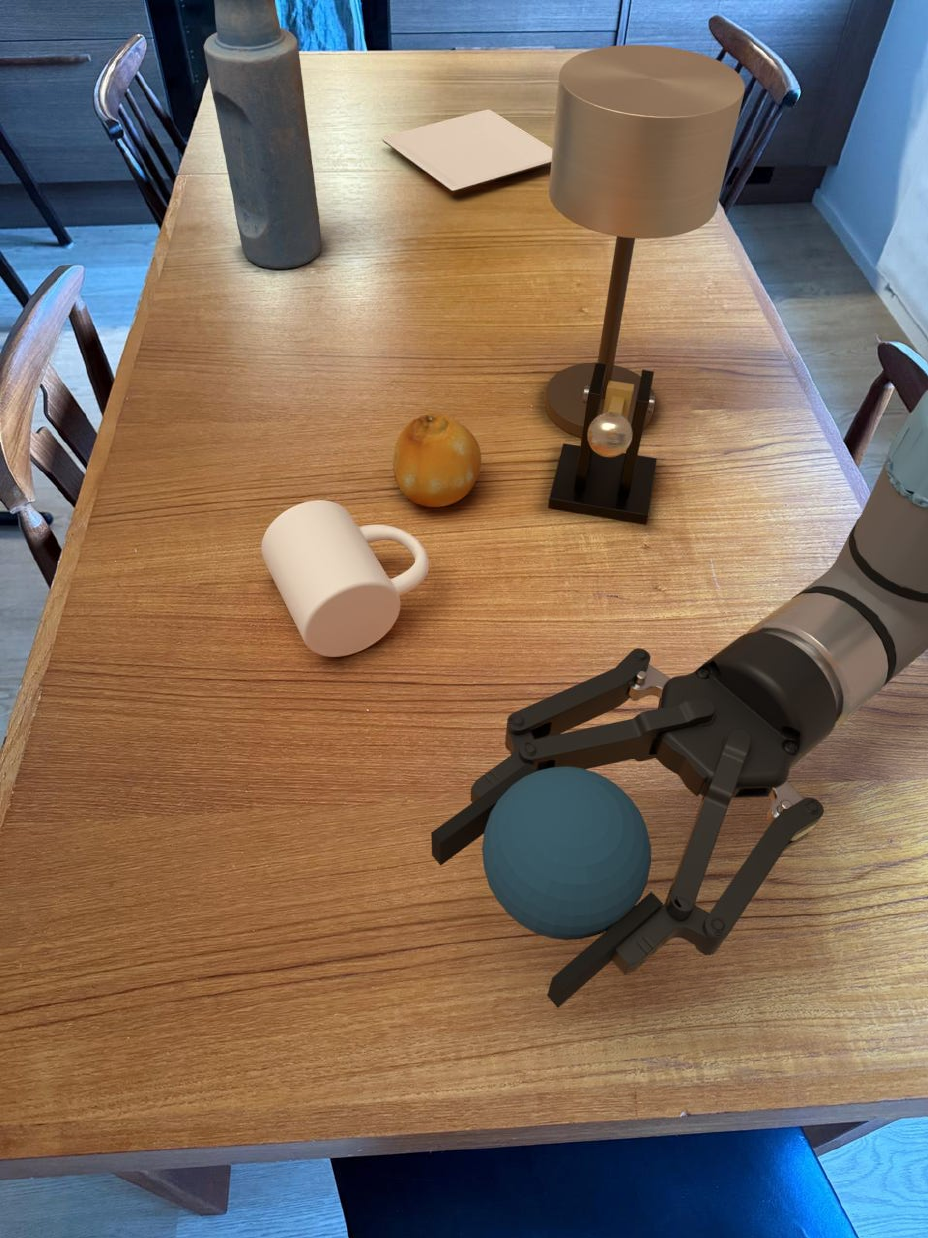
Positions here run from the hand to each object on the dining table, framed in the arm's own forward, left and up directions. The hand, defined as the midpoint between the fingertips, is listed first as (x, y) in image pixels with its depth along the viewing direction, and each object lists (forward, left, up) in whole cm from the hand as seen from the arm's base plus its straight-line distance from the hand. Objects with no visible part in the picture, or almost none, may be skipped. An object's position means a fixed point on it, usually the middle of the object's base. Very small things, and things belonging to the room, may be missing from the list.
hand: (492, 917), depth 44 cm
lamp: (+60, +1, -14) cm, 61 cm away
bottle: (+81, +43, -14) cm, 92 cm away
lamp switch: (+41, -1, -2) cm, 41 cm away
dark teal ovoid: (+4, -3, -7) cm, 8 cm away
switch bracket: (+48, -1, -14) cm, 50 cm away
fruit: (+44, +14, -14) cm, 48 cm away
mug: (+29, +17, -14) cm, 36 cm away
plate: (+111, +26, -14) cm, 115 cm away
